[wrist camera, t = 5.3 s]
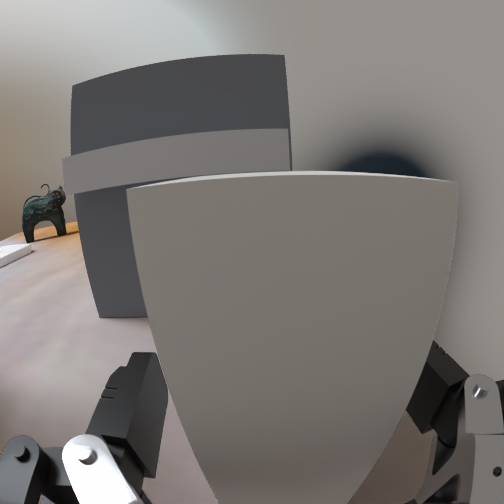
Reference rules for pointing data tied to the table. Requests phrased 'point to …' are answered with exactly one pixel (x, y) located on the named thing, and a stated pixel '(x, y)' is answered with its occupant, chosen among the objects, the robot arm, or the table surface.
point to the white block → (292, 319)
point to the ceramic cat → (44, 213)
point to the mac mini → (13, 253)
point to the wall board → (165, 148)
